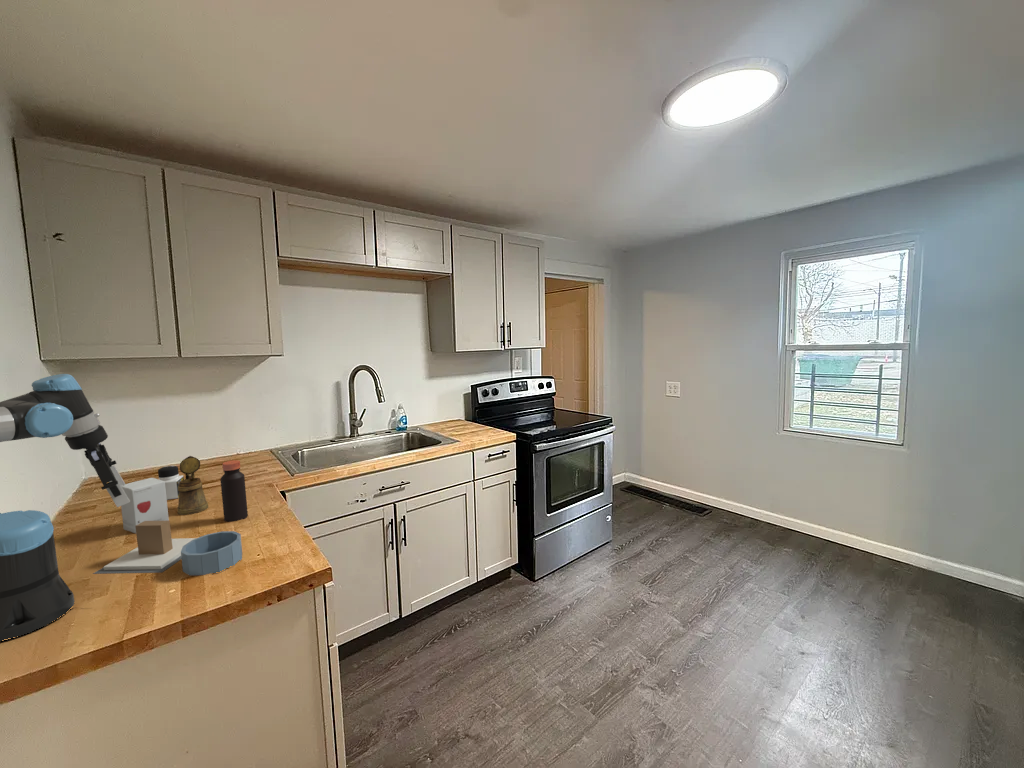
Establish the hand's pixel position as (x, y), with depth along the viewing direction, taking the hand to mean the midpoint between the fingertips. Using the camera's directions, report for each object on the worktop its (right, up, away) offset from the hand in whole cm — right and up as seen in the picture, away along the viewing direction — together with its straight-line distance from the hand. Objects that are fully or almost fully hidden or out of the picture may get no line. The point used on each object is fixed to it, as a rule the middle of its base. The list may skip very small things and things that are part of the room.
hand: (121, 494), depth 117 cm
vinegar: (+17, -15, +23) cm, 33 cm away
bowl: (+30, -18, -4) cm, 35 cm away
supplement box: (-9, -16, +18) cm, 25 cm away
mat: (+11, -17, -1) cm, 20 cm away
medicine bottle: (-22, -13, +44) cm, 50 cm away
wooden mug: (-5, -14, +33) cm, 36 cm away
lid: (+11, -17, -1) cm, 20 cm away
